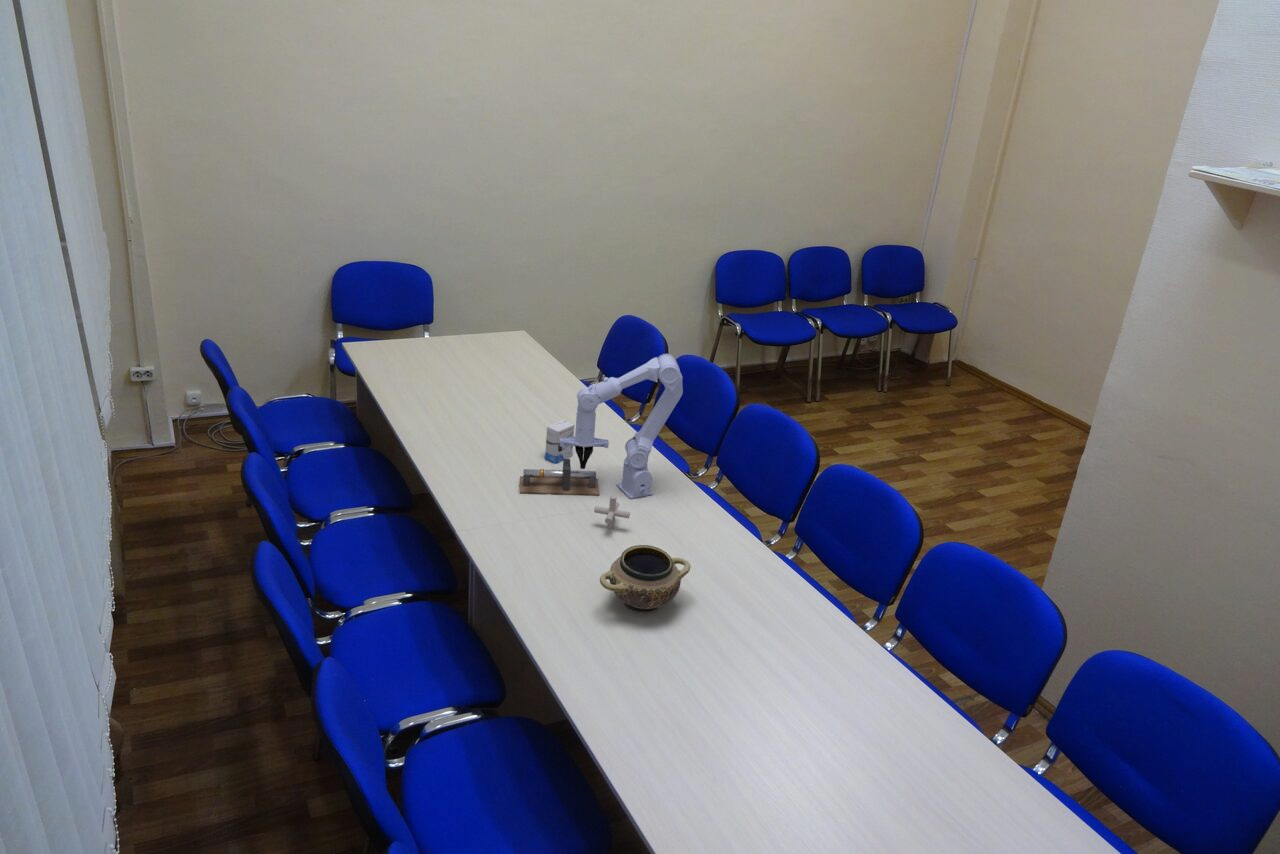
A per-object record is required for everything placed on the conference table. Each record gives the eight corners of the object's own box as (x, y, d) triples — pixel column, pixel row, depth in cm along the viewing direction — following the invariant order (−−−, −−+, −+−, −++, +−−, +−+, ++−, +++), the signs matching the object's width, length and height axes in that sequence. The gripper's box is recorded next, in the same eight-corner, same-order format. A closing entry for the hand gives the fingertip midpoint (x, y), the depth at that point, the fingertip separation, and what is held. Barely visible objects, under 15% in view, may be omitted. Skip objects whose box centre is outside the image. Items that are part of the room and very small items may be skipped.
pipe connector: (624, 539, 258) (626, 508, 254) (589, 533, 260) (591, 502, 256) (631, 522, 267) (634, 492, 263) (598, 516, 269) (600, 486, 265)
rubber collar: (568, 479, 286) (570, 458, 283) (569, 490, 280) (570, 469, 277) (562, 478, 286) (563, 458, 283) (562, 489, 279) (564, 469, 276)
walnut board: (597, 480, 289) (597, 478, 288) (599, 495, 280) (599, 494, 280) (520, 477, 286) (520, 476, 285) (519, 493, 277) (519, 492, 276)
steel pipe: (594, 483, 285) (595, 469, 283) (595, 488, 283) (596, 473, 280) (523, 481, 282) (523, 466, 280) (523, 486, 280) (523, 471, 278)
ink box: (555, 464, 296) (557, 431, 291) (544, 459, 299) (545, 426, 294) (573, 456, 302) (575, 423, 297) (561, 451, 305) (563, 418, 300)
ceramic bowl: (605, 635, 223) (615, 595, 214) (582, 581, 235) (591, 540, 226) (695, 618, 233) (709, 578, 224) (669, 566, 245) (681, 527, 236)
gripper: (608, 422, 280) (605, 462, 285) (560, 420, 278) (558, 460, 283) (610, 432, 273) (607, 472, 279) (561, 430, 271) (558, 471, 277)
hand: (582, 467), depth 281 cm, fingers closed
